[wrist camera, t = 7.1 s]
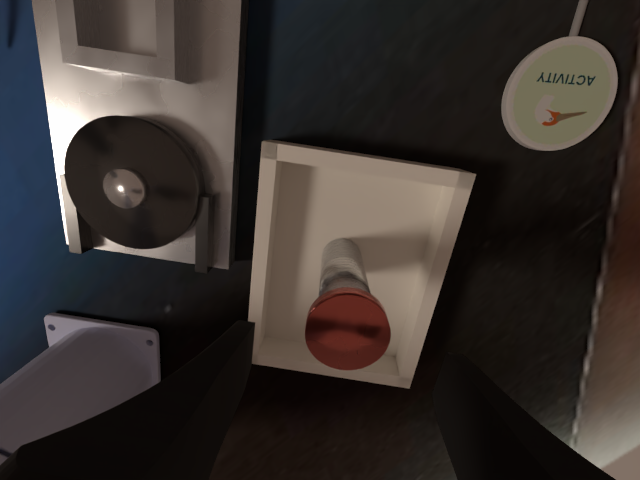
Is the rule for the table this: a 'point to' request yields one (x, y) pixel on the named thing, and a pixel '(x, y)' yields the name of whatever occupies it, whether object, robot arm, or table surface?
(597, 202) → the table surface
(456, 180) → the tray
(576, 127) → the sign
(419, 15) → the table surface
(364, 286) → the pin
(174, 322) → the table surface
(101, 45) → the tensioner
